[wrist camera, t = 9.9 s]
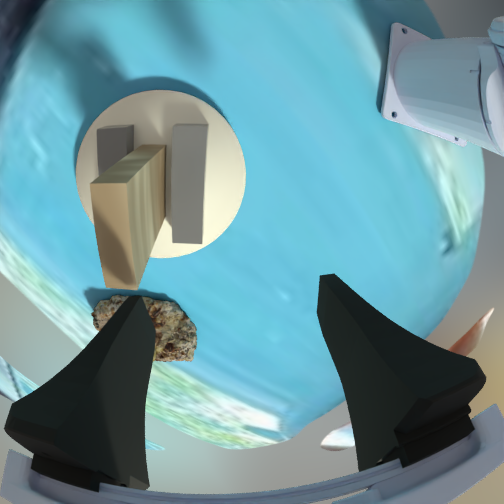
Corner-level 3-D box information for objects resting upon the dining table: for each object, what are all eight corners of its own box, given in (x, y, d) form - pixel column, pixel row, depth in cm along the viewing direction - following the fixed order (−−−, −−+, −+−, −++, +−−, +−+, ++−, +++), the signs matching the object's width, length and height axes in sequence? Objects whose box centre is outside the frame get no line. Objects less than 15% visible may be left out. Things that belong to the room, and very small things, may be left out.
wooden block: (166, 144, 16) (126, 183, 10) (165, 216, 19) (137, 290, 12) (142, 144, 16) (89, 183, 9) (143, 215, 19) (106, 287, 12)
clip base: (253, 93, 16) (257, 92, 14) (237, 254, 22) (238, 273, 20) (79, 97, 15) (61, 99, 12) (92, 247, 21) (80, 264, 19)
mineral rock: (214, 326, 23) (184, 389, 25) (211, 303, 28) (184, 363, 29) (95, 279, 20) (79, 352, 22) (109, 262, 24) (92, 328, 26)
